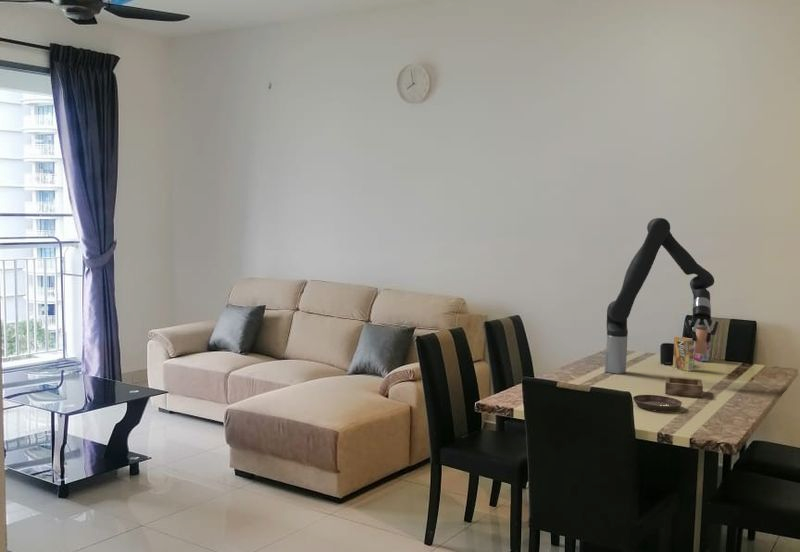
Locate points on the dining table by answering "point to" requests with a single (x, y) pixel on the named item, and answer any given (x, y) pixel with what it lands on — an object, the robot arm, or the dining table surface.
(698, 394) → the bin
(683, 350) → the candy box
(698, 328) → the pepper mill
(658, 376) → the dining table surface
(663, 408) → the plant saucer
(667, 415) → the dining table surface
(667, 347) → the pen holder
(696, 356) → the candy bar box
